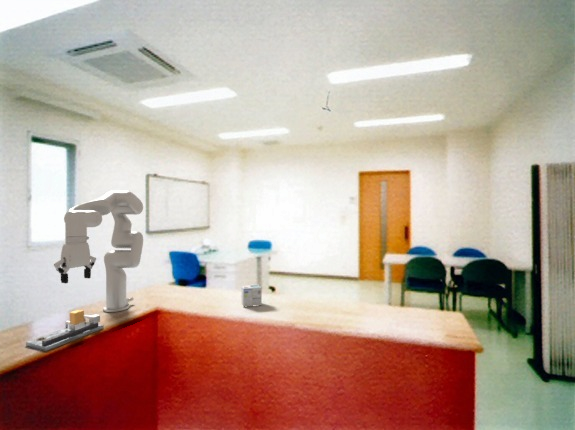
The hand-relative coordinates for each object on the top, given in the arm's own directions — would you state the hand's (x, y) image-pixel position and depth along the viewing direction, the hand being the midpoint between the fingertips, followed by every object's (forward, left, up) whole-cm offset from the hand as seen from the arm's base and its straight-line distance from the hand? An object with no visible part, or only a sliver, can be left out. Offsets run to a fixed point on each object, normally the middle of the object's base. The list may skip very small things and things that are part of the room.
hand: (76, 280), depth 131 cm
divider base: (+2, -3, -24) cm, 24 cm away
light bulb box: (-66, +49, -24) cm, 86 cm away
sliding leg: (0, -3, -22) cm, 22 cm away
